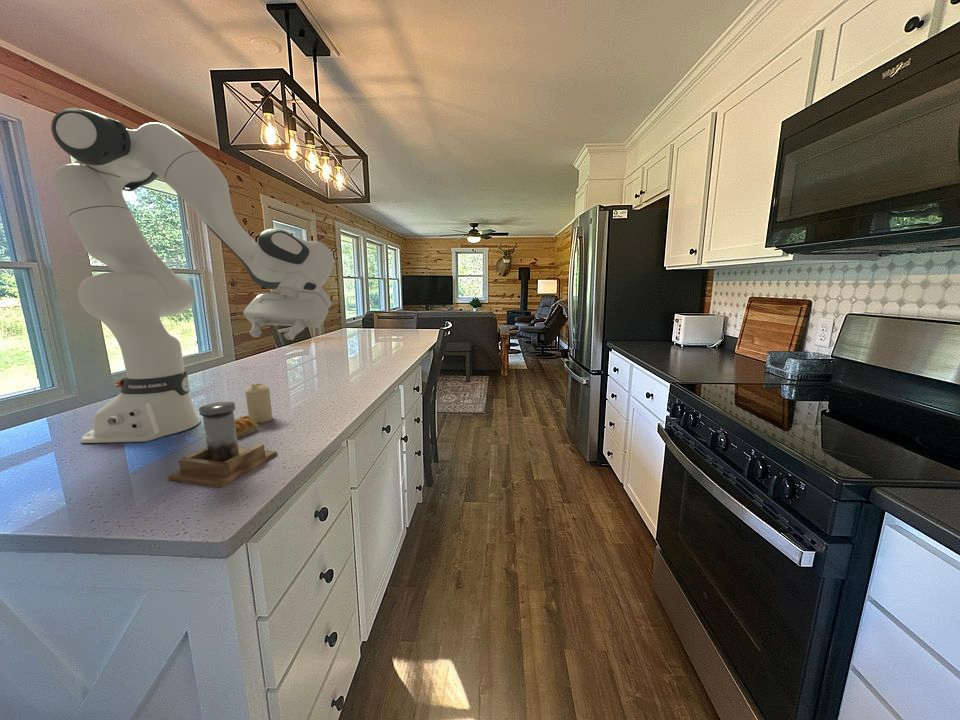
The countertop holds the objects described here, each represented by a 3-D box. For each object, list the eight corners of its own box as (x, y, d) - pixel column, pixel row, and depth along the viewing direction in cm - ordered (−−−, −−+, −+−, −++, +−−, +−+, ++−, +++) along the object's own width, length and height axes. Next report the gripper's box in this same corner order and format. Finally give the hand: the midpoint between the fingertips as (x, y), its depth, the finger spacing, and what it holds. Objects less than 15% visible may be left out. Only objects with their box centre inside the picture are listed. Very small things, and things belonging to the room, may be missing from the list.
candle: (262, 424, 100) (257, 387, 98) (244, 422, 101) (239, 386, 99) (277, 417, 105) (273, 382, 103) (260, 415, 106) (255, 381, 104)
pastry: (229, 444, 88) (227, 429, 87) (206, 441, 90) (203, 426, 89) (261, 429, 97) (259, 415, 96) (239, 427, 99) (237, 413, 98)
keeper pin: (202, 471, 73) (193, 412, 71) (215, 457, 79) (206, 402, 76) (236, 467, 75) (228, 409, 72) (246, 454, 80) (238, 400, 78)
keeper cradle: (220, 487, 69) (218, 470, 68) (168, 480, 72) (165, 463, 71) (277, 454, 82) (275, 440, 82) (231, 449, 85) (229, 435, 84)
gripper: (254, 283, 95) (224, 325, 88) (326, 285, 91) (300, 330, 83) (269, 300, 101) (242, 342, 93) (338, 303, 96) (314, 347, 89)
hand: (270, 336), depth 88 cm, fingers open, 8 cm apart
